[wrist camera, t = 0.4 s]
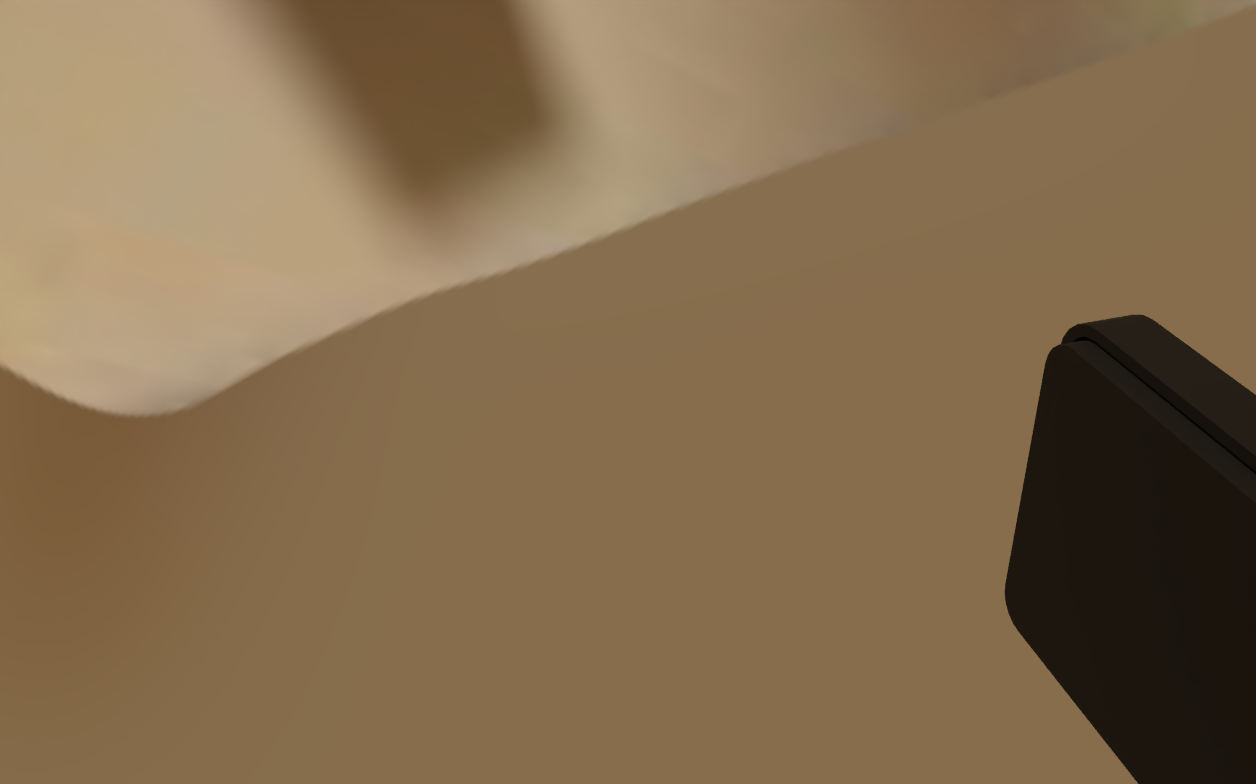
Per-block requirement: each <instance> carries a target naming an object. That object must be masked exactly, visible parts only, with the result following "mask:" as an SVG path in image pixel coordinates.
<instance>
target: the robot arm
mask: <svg viewBox="0 0 1256 784" xmlns="http://www.w3.org/2000/svg"><path fill="white" fill-rule="evenodd" d="M1005 599H1006V605H1007V609H1008V612H1009V615H1010V617H1011V620H1012V622H1013V624H1014V625H1015V627H1016V628H1017V630H1018V631H1019V632H1020V634H1021V635H1022V636H1023V638H1024V639H1025V640H1026V642H1027V643H1028V644H1029V645H1030V647H1031V648H1032V649H1033V651H1034V652H1035V653H1036V654H1037V655H1038V657H1039V658H1040V659H1041V661H1042V662H1043V663H1044V664H1045V666H1046V667H1047V668H1048V670H1050V672H1051V673H1052V675H1053V676H1054V677H1055V678H1056V680H1057V681H1058V682H1059V683H1060V685H1061V686H1062V687H1063V689H1064V690H1065V691H1066V692H1067V694H1068V695H1069V696H1070V697H1071V699H1072V700H1073V701H1074V703H1075V704H1076V705H1077V706H1078V708H1079V709H1080V710H1081V711H1082V713H1083V714H1084V715H1085V716H1086V718H1087V719H1088V720H1089V721H1090V723H1091V724H1092V725H1093V727H1094V728H1095V729H1096V730H1097V732H1098V733H1099V734H1100V736H1101V737H1102V738H1103V739H1104V741H1105V742H1106V743H1107V744H1108V746H1109V747H1110V748H1111V749H1112V751H1113V752H1114V753H1115V755H1116V756H1117V757H1118V758H1119V760H1120V761H1121V762H1122V763H1123V764H1124V766H1125V767H1126V769H1127V770H1128V771H1129V772H1130V774H1131V775H1132V776H1133V777H1134V779H1135V780H1136V781H1137V782H1138V784H1256V395H1255V394H1253V393H1252V392H1251V391H1249V390H1248V389H1247V388H1245V387H1244V386H1243V385H1241V384H1240V383H1239V382H1237V381H1236V380H1234V379H1233V378H1232V377H1230V376H1229V375H1228V374H1226V373H1225V372H1223V371H1222V370H1221V369H1219V368H1218V367H1217V366H1215V365H1214V364H1213V363H1211V362H1210V361H1208V360H1207V359H1206V358H1204V357H1203V356H1202V355H1200V354H1199V353H1197V352H1196V351H1195V350H1193V349H1192V348H1191V347H1189V346H1188V345H1187V344H1185V343H1184V342H1182V341H1181V340H1180V339H1178V338H1177V337H1176V336H1174V335H1173V334H1172V333H1170V332H1169V331H1167V330H1166V329H1164V328H1163V327H1162V326H1161V325H1159V324H1158V323H1157V322H1155V321H1154V320H1152V319H1150V318H1148V317H1146V316H1144V315H1130V316H1123V317H1117V318H1111V319H1106V320H1100V321H1094V322H1088V323H1083V324H1077V325H1076V326H1074V327H1072V328H1070V329H1069V330H1068V331H1067V333H1066V334H1065V336H1064V337H1063V340H1062V343H1061V345H1058V346H1056V347H1054V348H1053V349H1052V350H1051V351H1050V353H1049V354H1048V357H1047V360H1046V363H1045V369H1044V374H1043V379H1042V385H1041V390H1040V396H1039V401H1038V407H1037V413H1036V418H1035V424H1034V429H1033V435H1032V440H1031V446H1030V451H1029V457H1028V462H1027V468H1026V473H1025V479H1024V484H1023V490H1022V496H1021V501H1020V506H1019V512H1018V517H1017V523H1016V529H1015V534H1014V540H1013V545H1012V551H1011V556H1010V562H1009V567H1008V573H1007V579H1006V584H1005Z"/></svg>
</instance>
